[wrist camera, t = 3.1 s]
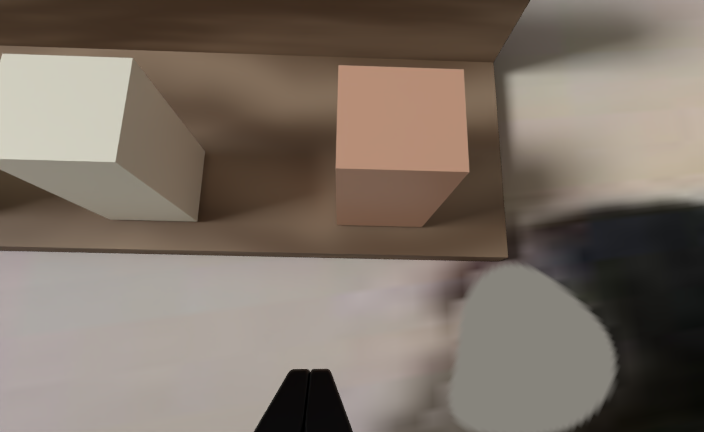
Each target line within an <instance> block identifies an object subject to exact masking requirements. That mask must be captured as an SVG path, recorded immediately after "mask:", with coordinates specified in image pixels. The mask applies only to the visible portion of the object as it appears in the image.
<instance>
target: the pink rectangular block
mask: <svg viewBox="0 0 704 432" xmlns="http://www.w3.org/2000/svg"><path fill="white" fill-rule="evenodd" d="M468 173H469V155H468V137H467V119H466V101H465V83H464V69H438V68H408V67H379V66H349V65H338V99H337V134H336V223H337V225H356V226H398V227H422V226H423V225H424V224H425V223H426V222H427V221H428V219H429V218H430V217H431V216H432V215H433V214H434V212H435V211H436V210H437V209H438V208H439V207H440V206H441V204H442V203H443V202H444V201H445V200H446V199H447V197H448V196H449V195H450V194H451V193H452V192H453V190H454V189H455V188H456V187H457V186H458V185H459V184H460V182H461V181H462V180H463V179H464V178H465V177H466V175H467V174H468Z"/></svg>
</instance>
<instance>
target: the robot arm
mask: <svg viewBox="0 0 704 432" xmlns="http://www.w3.org/2000/svg"><path fill="white" fill-rule="evenodd" d="M254 432H353V431H352V428H351V425H350V423H349V420H348V417H347V415H346V412H345V409H344V406H343V404H342V401H341V398H340V395H339V393H338V390H337V387H336V385H335V382H334V379H333V376H332V374H331V371H330V370H329V369H313V370H311V372H310V371H309V370H308V369H292V370H291V371H290V372H289V373H288V374H287V376H286V378H285V379H284V381H283V383H282V385H281V386H280V388H279V390H278V391H277V393H276V395H275V397H274V398H273V400H272V402H271V403H270V405H269V407H268V408H267V410H266V412H265V414H264V415H263V417H262V419H261V420H260V422H259V424H258V425H257V427H256V429H255V431H254Z"/></svg>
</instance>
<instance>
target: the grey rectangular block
mask: <svg viewBox="0 0 704 432" xmlns="http://www.w3.org/2000/svg"><path fill="white" fill-rule="evenodd" d="M204 157H205V151H204V149H203V148H202V147H201V146H200V144H199V143H198V142H197V140H196V139H195V138H194V137H193V135H192V134H191V133H190V131H189V130H188V129H187V127H186V126H185V125H184V124H183V122H182V121H181V120H180V118H179V117H178V116H177V115H176V113H175V112H174V111H173V109H172V108H171V107H170V105H169V104H168V103H167V102H166V100H165V99H164V98H163V96H162V95H161V94H160V93H159V91H158V90H157V89H156V87H155V86H154V85H153V84H152V82H151V81H150V80H149V78H148V77H147V76H146V74H145V73H144V72H143V71H142V69H141V68H140V67H139V65H138V64H137V63H136V62H135V60H134V59H133V58H118V57H88V56H59V55H29V54H2V56H1V60H0V170H2V171H4V172H7V173H9V174H11V175H13V176H15V177H17V178H20V179H22V180H24V181H26V182H28V183H31V184H33V185H35V186H37V187H39V188H42V189H44V190H46V191H48V192H50V193H53V194H55V195H57V196H59V197H61V198H64V199H66V200H68V201H70V202H72V203H75V204H77V205H79V206H81V207H83V208H85V209H88V210H90V211H92V212H94V213H96V214H99V215H101V216H103V217H105V218H107V219H110V220H152V221H194V222H197V220H198V211H199V202H200V193H201V184H202V175H203V166H204Z"/></svg>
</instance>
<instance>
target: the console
mask: <svg viewBox="0 0 704 432" xmlns="http://www.w3.org/2000/svg"><path fill="white" fill-rule="evenodd" d="M529 1H530V0H0V60H1V56H2V54H29V55H59V56H88V57H118V58H133V59H134V60H135V62H136V63H137V64H138V65H139V67H140V68H141V69H142V71H143V72H144V73H145V74H146V76H147V77H148V78H149V80H150V81H151V82H152V84H153V85H154V86H155V87H156V89H157V90H158V91H159V93H160V94H161V95H162V96H163V98H164V99H165V100H166V102H167V103H168V104H169V105H170V107H171V108H172V109H173V111H174V112H175V113H176V115H177V116H178V117H179V118H180V120H181V121H182V122H183V124H184V125H185V126H186V127H187V129H188V130H189V131H190V133H191V134H192V135H193V137H194V138H195V139H196V140H197V142H198V143H199V144H200V146H201V147H202V148H203V149H204V151H205V157H204V166H203V175H202V184H201V193H200V202H199V211H198V220H197V222H194V221H152V220H110V219H107V218H105V217H103V216H101V215H99V214H96V213H94V212H92V211H90V210H88V209H85V208H83V207H81V206H79V205H77V204H75V203H72V202H70V201H68V200H66V199H64V198H61V197H59V196H57V195H55V194H53V193H50V192H48V191H46V190H44V189H42V188H39V187H37V186H35V185H33V184H31V183H28V182H26V181H24V180H22V179H20V178H17V177H15V176H13V175H11V174H9V173H7V172H4V171H2V170H0V251H43V252H88V253H134V254H180V255H226V256H272V257H318V258H363V259H409V260H455V261H500V260H503V259H505V258H508V250H507V237H506V223H505V210H504V197H503V184H502V170H501V157H500V144H499V131H498V118H497V104H496V91H495V78H494V65H493V62H494V60H495V59H496V57H497V55H498V54H499V52H500V50H501V49H502V47H503V45H504V44H505V42H506V40H507V39H508V37H509V35H510V34H511V32H512V30H513V28H514V27H515V25H516V23H517V22H518V20H519V18H520V17H521V15H522V13H523V12H524V10H525V8H526V7H527V5H528V3H529ZM338 65H349V66H379V67H408V68H438V69H464V83H465V101H466V119H467V137H468V155H469V173H468V174H467V175H466V177H465V178H464V179H463V180H462V181H461V182H460V184H459V185H458V186H457V187H456V188H455V189H454V190H453V192H452V193H451V194H450V195H449V196H448V197H447V199H446V200H445V201H444V202H443V203H442V204H441V206H440V207H439V208H438V209H437V210H436V211H435V212H434V214H433V215H432V216H431V217H430V218H429V219H428V221H427V222H426V223H425V224H424V225H423V226H422V227H398V226H356V225H337V223H336V134H337V99H338Z"/></svg>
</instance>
